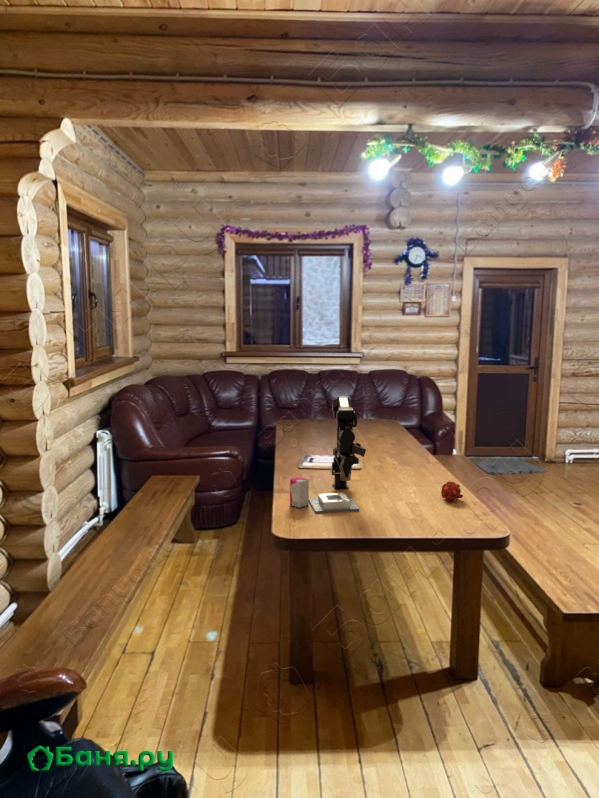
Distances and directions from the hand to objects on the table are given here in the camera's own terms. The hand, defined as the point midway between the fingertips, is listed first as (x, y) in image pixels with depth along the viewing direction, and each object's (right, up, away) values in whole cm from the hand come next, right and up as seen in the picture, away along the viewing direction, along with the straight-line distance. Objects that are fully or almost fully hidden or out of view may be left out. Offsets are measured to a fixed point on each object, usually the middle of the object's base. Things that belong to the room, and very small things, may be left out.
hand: (345, 475), depth 232 cm
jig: (-5, -12, 0) cm, 13 cm away
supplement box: (-19, -13, 0) cm, 23 cm away
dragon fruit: (+46, -12, +8) cm, 48 cm away
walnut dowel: (0, -2, 0) cm, 2 cm away
